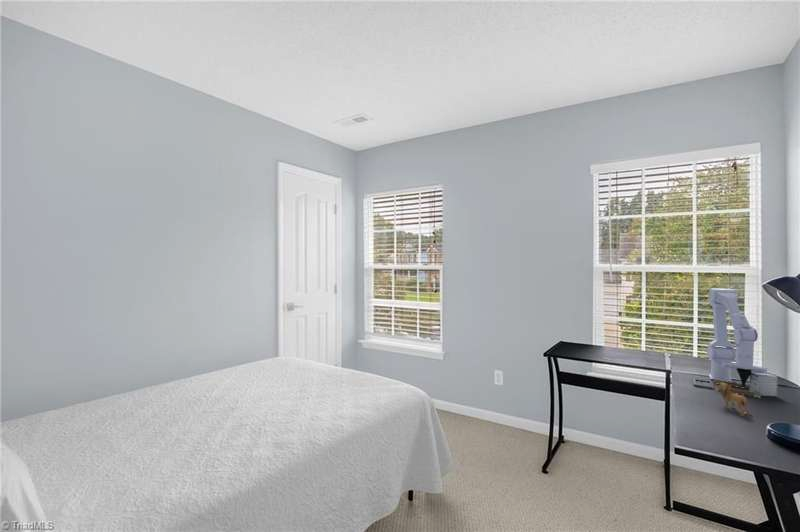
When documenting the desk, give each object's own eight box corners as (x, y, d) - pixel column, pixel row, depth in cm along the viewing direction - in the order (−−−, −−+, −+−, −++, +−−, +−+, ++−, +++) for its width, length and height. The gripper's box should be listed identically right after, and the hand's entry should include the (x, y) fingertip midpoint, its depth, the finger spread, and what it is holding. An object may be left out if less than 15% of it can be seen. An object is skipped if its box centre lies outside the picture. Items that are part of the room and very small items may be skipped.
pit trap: (692, 380, 184) (693, 378, 184) (711, 383, 180) (711, 381, 180) (693, 386, 175) (694, 384, 175) (713, 389, 171) (713, 387, 171)
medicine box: (767, 393, 168) (768, 373, 168) (777, 396, 163) (778, 376, 163) (748, 392, 168) (749, 372, 168) (757, 395, 164) (758, 375, 164)
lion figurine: (712, 403, 153) (713, 381, 153) (725, 404, 153) (726, 381, 153) (746, 418, 138) (747, 393, 138) (760, 419, 138) (761, 394, 138)
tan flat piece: (714, 383, 181) (714, 377, 181) (754, 389, 173) (754, 384, 173) (717, 390, 169) (717, 385, 169) (760, 398, 161) (760, 392, 161)
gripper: (723, 354, 170) (722, 385, 170) (768, 360, 162) (767, 392, 162) (722, 351, 176) (721, 381, 176) (765, 357, 167) (764, 388, 168)
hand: (743, 386), depth 169 cm, fingers closed
